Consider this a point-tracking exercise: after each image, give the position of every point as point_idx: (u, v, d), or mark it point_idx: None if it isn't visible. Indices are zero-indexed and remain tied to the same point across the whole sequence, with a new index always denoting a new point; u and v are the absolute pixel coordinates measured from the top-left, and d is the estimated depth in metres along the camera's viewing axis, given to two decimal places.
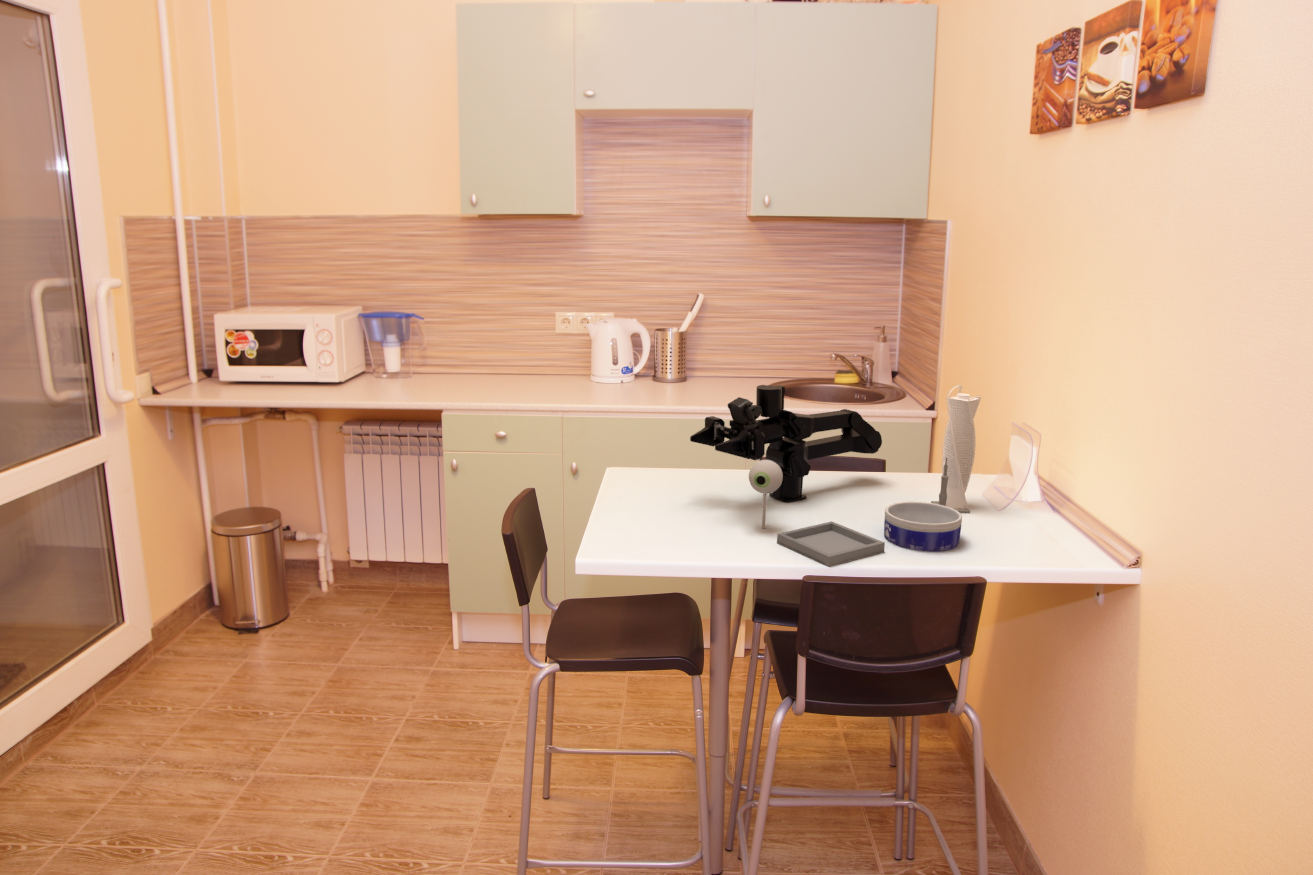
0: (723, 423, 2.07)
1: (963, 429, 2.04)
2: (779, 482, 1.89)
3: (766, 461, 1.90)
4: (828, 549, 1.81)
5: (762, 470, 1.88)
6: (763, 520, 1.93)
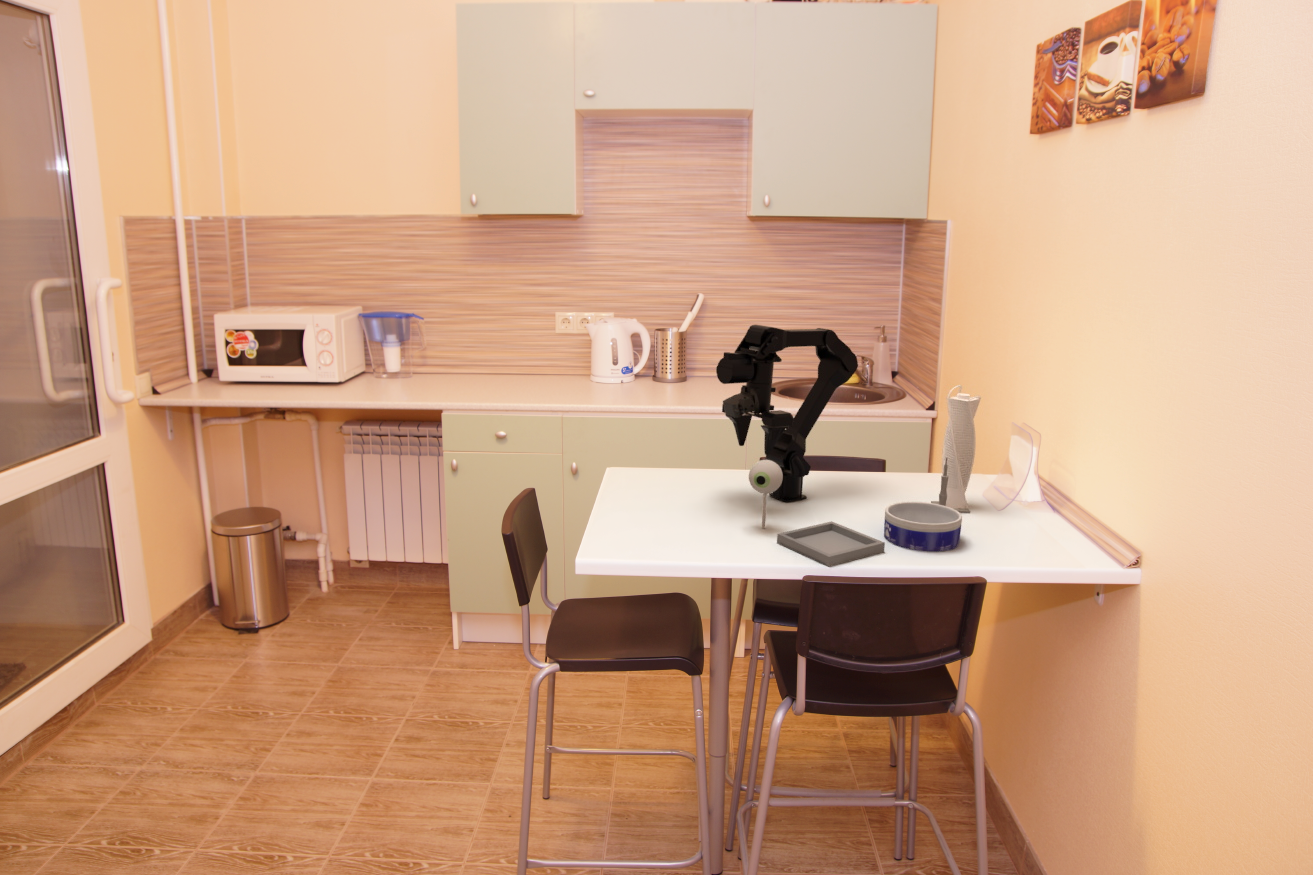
0: None
1: (963, 429, 2.04)
2: (779, 482, 1.89)
3: (766, 461, 1.90)
4: (828, 549, 1.81)
5: (762, 470, 1.88)
6: (763, 520, 1.93)
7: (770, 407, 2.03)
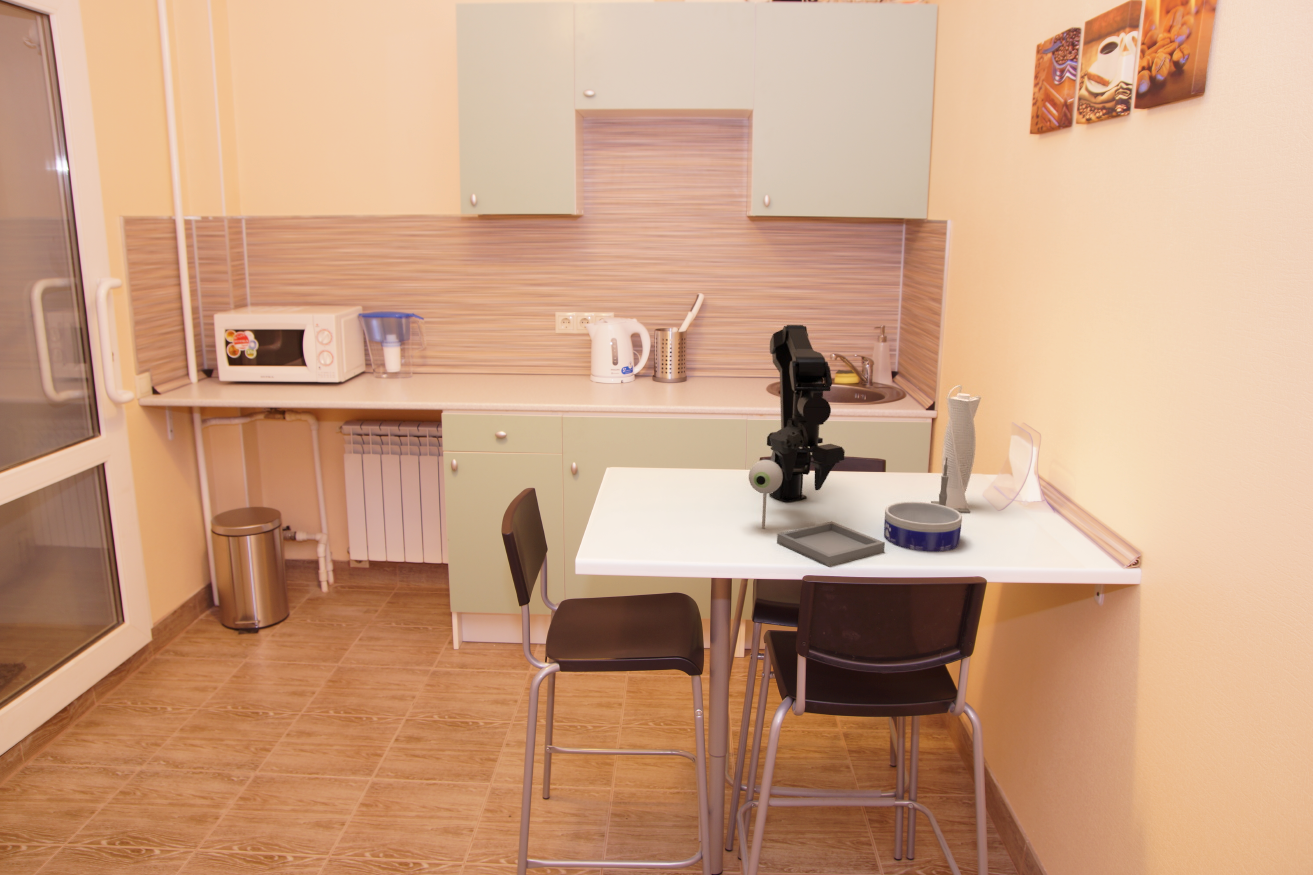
0: None
1: (963, 429, 2.04)
2: (779, 482, 1.89)
3: (766, 461, 1.90)
4: (828, 549, 1.81)
5: (762, 470, 1.88)
6: (763, 520, 1.93)
7: (818, 440, 1.94)
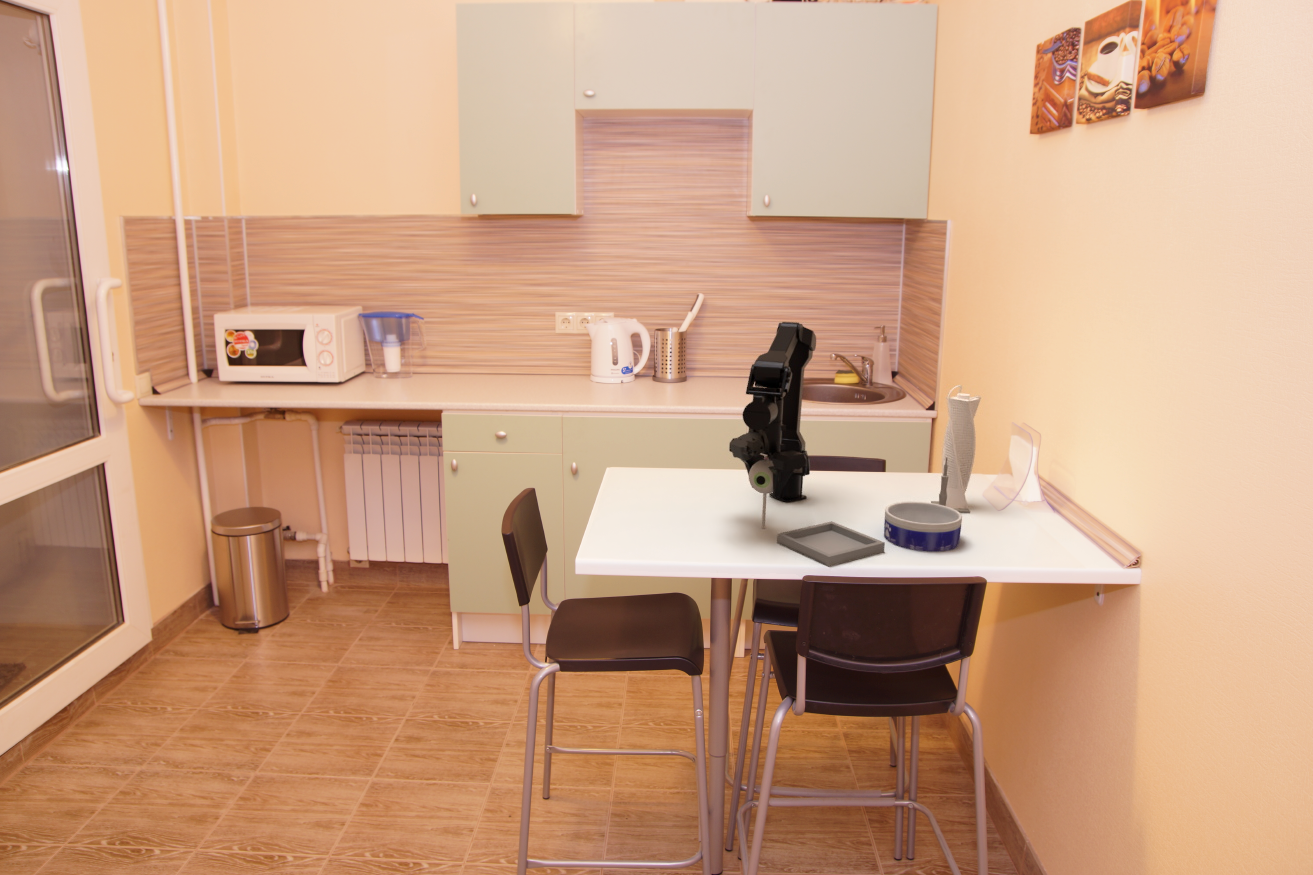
0: None
1: (963, 429, 2.04)
2: None
3: (766, 461, 1.90)
4: (828, 549, 1.81)
5: (762, 470, 1.88)
6: (763, 520, 1.93)
7: (781, 446, 1.89)
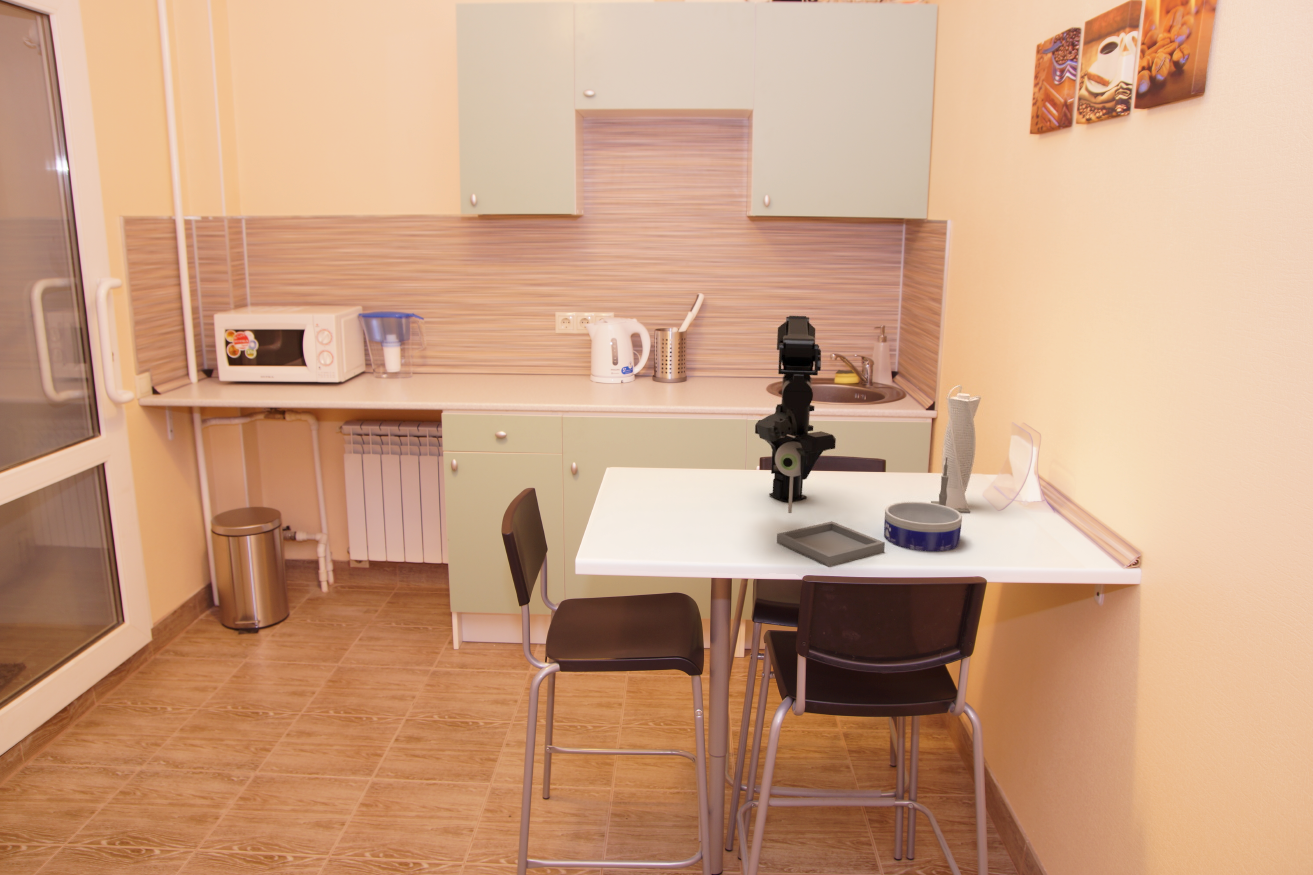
0: None
1: (963, 429, 2.04)
2: None
3: (793, 443, 1.84)
4: (828, 549, 1.81)
5: (789, 452, 1.83)
6: (789, 504, 1.88)
7: (808, 428, 1.83)
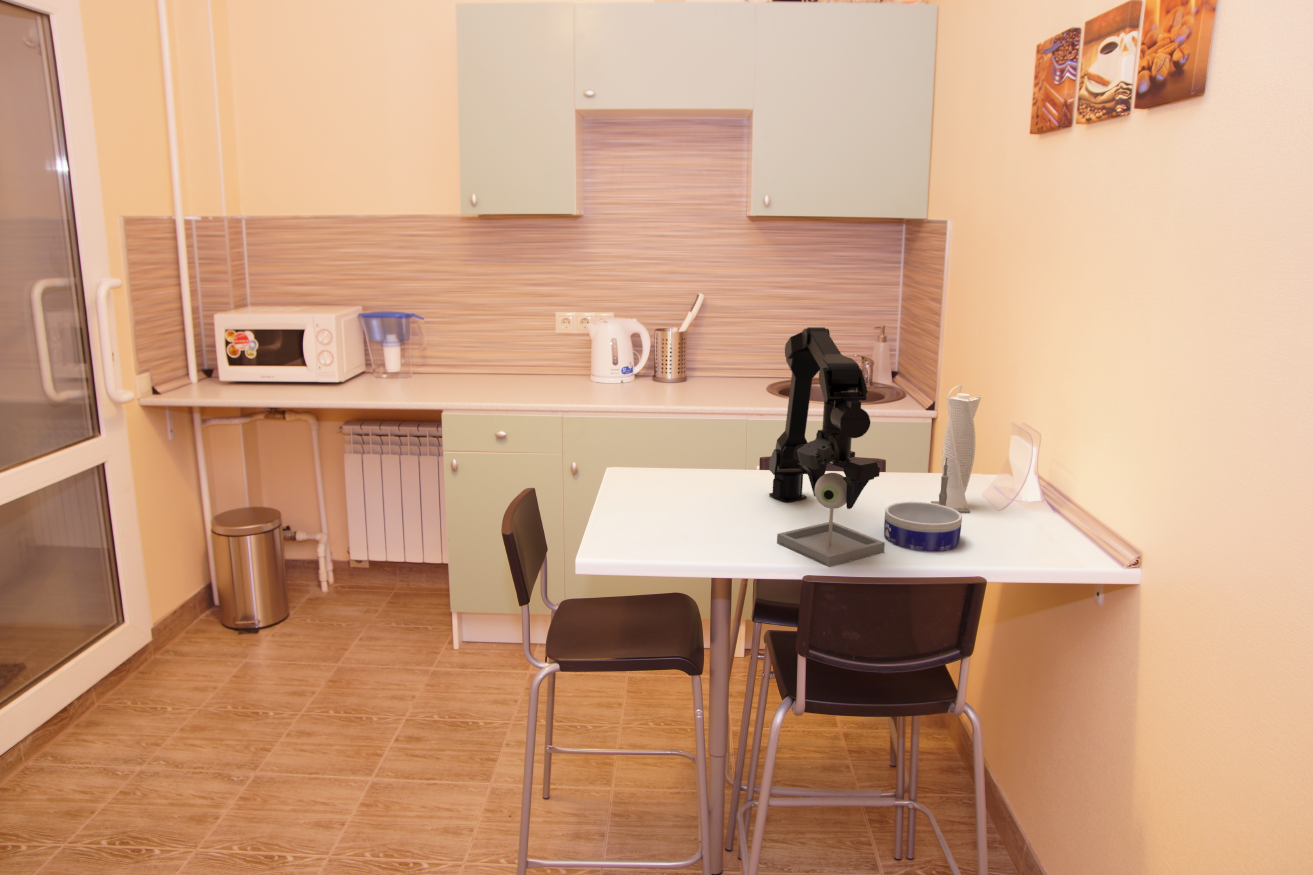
0: None
1: (963, 429, 2.04)
2: None
3: (833, 474, 1.79)
4: (828, 549, 1.81)
5: (830, 484, 1.77)
6: (829, 536, 1.82)
7: (850, 454, 1.78)
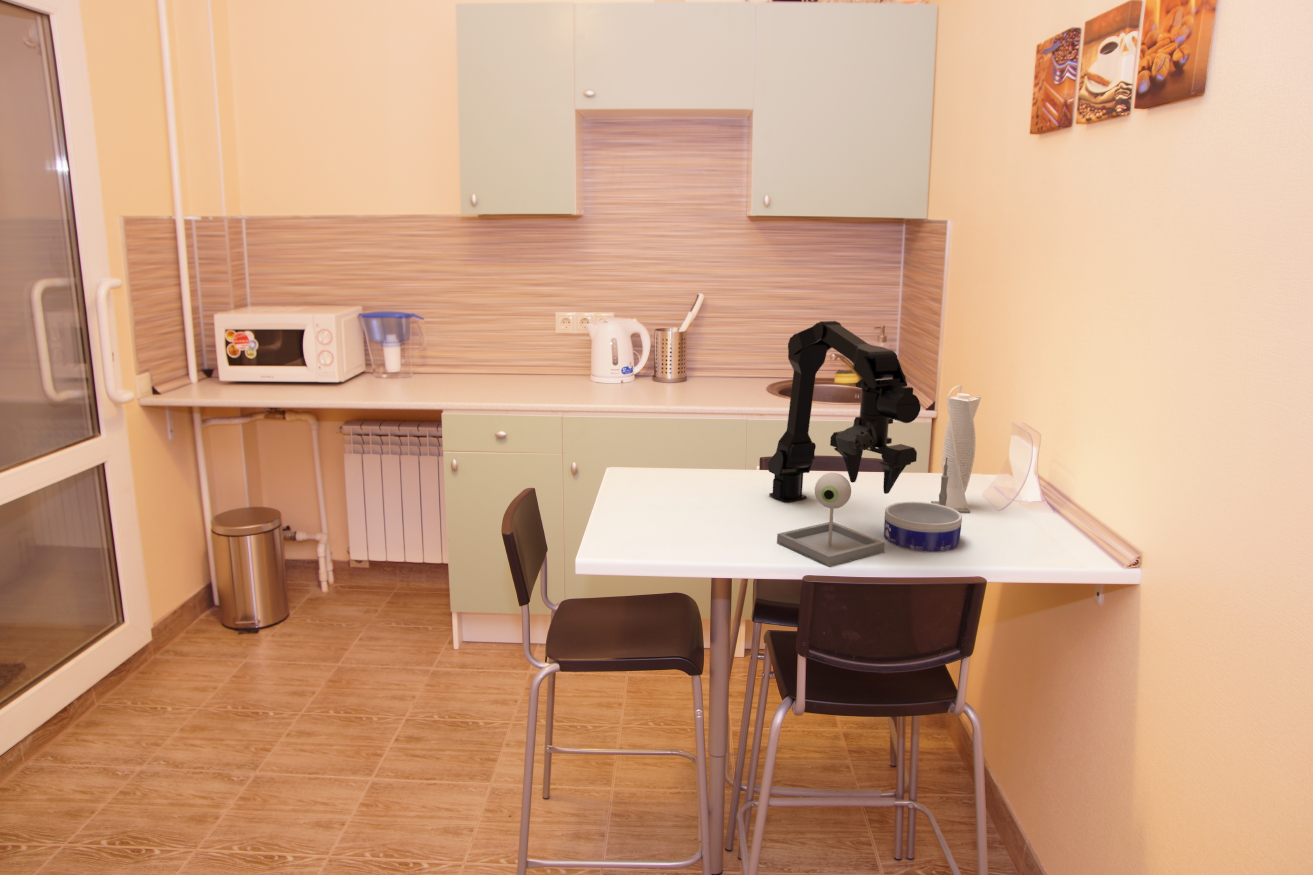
0: None
1: (963, 429, 2.04)
2: (848, 496, 1.78)
3: (834, 474, 1.79)
4: (828, 549, 1.81)
5: (830, 484, 1.77)
6: (829, 536, 1.83)
7: (887, 440, 1.82)
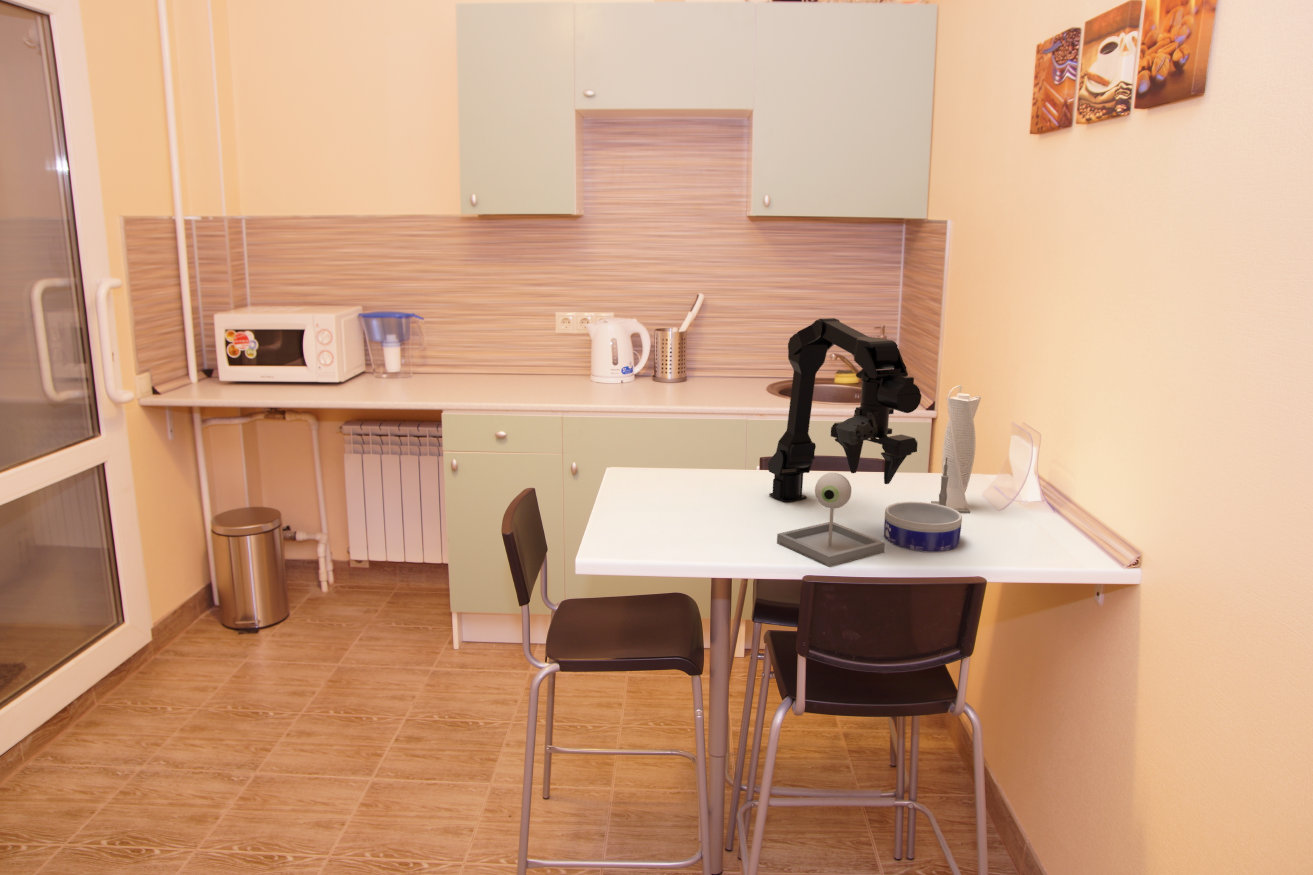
0: None
1: (963, 429, 2.04)
2: (848, 496, 1.78)
3: (834, 474, 1.79)
4: (828, 549, 1.81)
5: (830, 484, 1.77)
6: (829, 536, 1.83)
7: (888, 431, 1.82)
